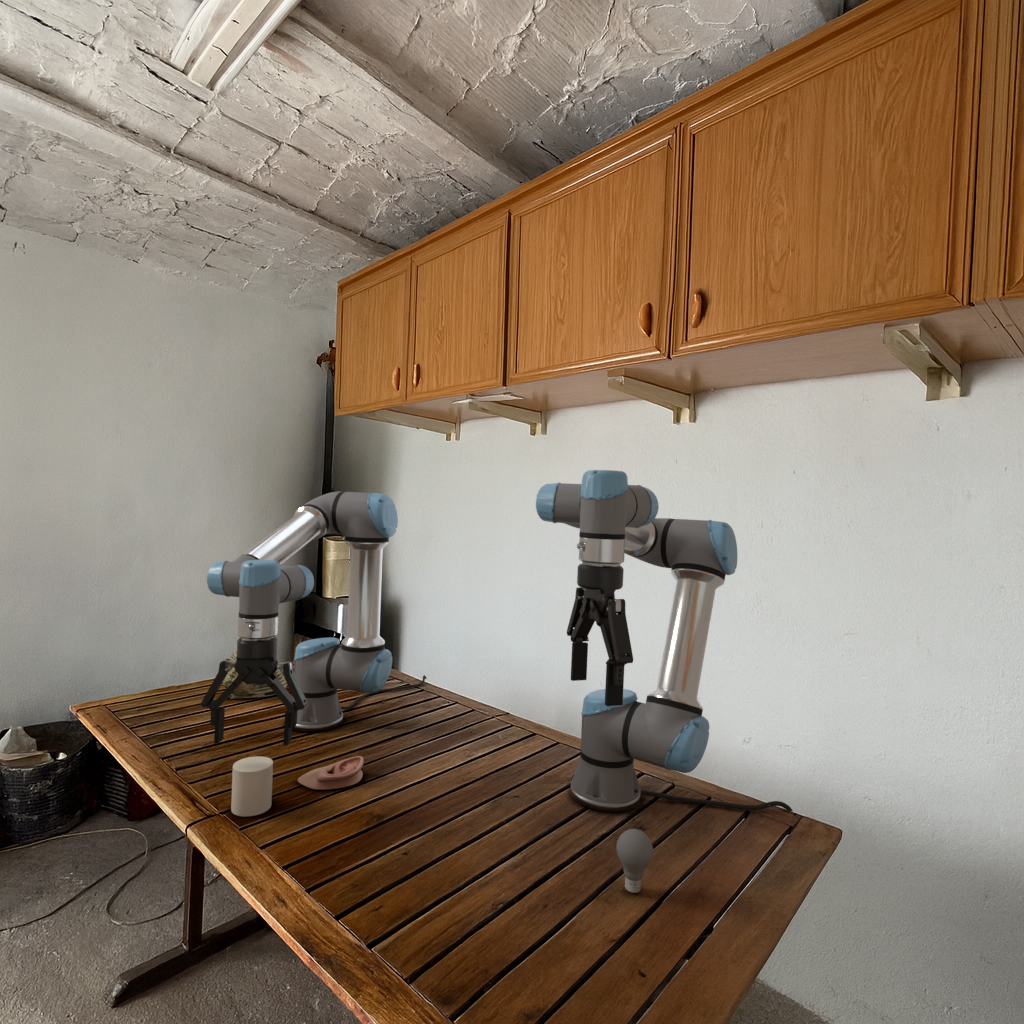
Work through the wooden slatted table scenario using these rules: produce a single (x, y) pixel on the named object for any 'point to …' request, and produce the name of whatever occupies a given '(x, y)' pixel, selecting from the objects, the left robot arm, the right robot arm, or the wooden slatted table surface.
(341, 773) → the anatomical model
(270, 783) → the can
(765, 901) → the wooden slatted table surface
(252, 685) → the fossil
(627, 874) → the light bulb
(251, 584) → the left robot arm
